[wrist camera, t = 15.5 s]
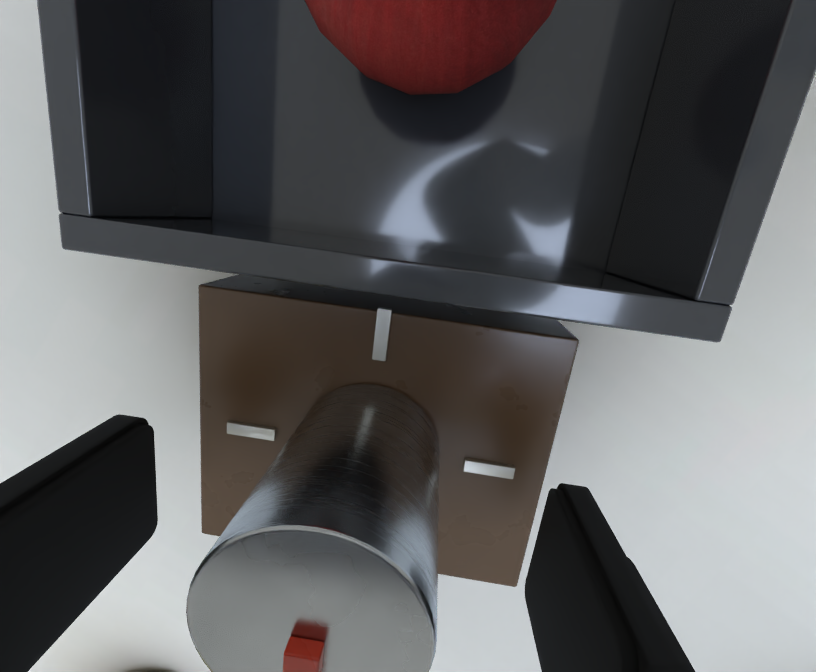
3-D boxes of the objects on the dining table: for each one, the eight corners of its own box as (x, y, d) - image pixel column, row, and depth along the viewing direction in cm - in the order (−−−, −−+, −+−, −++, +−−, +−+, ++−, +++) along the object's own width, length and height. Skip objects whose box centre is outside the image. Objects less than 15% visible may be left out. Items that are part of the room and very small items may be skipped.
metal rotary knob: (303, 372, 11) (167, 521, 6) (449, 394, 11) (456, 570, 6) (296, 497, 12) (175, 723, 7) (429, 519, 12) (416, 770, 7)
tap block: (267, 263, 15) (193, 281, 11) (540, 301, 15) (583, 337, 10) (261, 458, 17) (197, 540, 13) (497, 497, 17) (517, 595, 13)
